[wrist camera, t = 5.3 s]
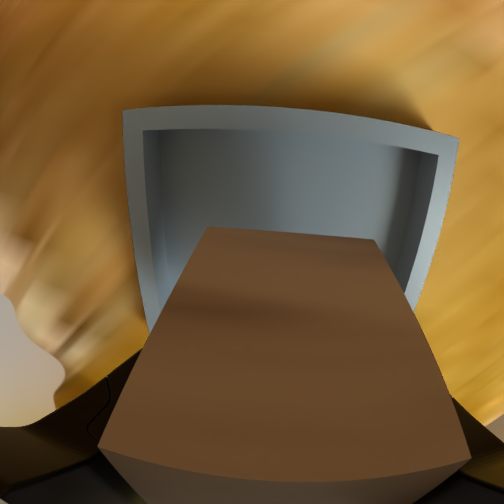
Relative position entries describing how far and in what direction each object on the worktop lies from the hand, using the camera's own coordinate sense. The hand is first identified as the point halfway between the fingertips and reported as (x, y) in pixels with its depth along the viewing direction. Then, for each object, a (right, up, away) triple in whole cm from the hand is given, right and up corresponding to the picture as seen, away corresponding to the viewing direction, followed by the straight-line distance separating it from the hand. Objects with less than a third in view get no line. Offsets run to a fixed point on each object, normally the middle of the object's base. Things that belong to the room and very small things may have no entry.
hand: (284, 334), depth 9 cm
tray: (0, +3, +5) cm, 6 cm away
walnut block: (0, +1, +1) cm, 2 cm away
